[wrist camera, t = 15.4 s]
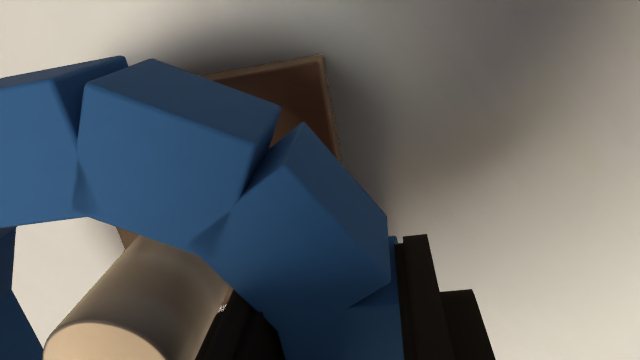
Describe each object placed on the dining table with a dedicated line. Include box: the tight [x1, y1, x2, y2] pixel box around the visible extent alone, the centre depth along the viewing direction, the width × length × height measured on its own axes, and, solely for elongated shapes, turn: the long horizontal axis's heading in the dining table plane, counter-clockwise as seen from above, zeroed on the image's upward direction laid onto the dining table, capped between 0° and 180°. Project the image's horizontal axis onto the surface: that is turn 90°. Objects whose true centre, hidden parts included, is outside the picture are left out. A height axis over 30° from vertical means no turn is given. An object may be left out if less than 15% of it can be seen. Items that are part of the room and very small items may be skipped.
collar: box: [0, 56, 404, 360], centre depth 11 cm, size 12×12×2 cm
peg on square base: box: [43, 55, 343, 360], centre depth 14 cm, size 9×9×10 cm
